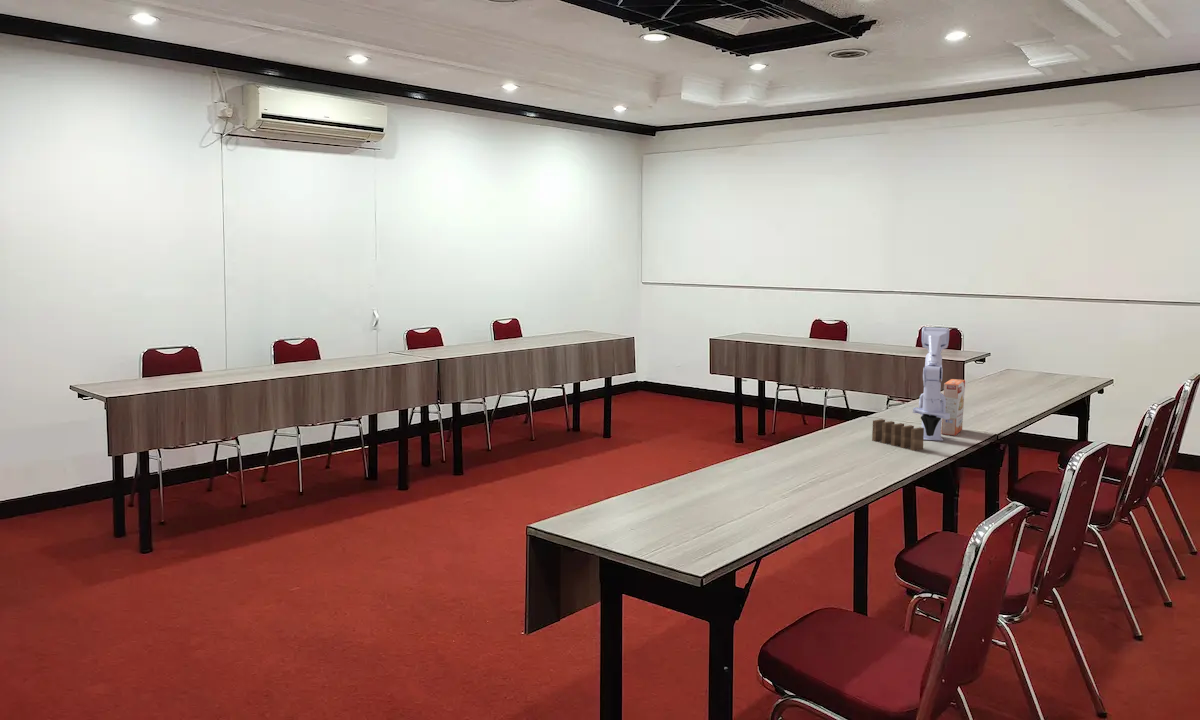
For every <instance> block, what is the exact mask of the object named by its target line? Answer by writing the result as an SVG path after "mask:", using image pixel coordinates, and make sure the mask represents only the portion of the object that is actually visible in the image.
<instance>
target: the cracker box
mask: <svg viewBox="0 0 1200 720" xmlns="http://www.w3.org/2000/svg"><path fill="white" fill-rule="evenodd" d="M965 392H966V380H965V379H956V378H950V379H949V380H948V381H946V382H944V383H943V395H944V396H945V397H946V411H945V413H949V414H950V419H943V418H942V422H941V435H944V436H945V435H946V436H947V435H948V436H957V435H958V434H959V433H961V431H962V430H963V421H964V408H965V407H964V405H965Z"/></svg>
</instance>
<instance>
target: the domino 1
mask: <svg viewBox="0 0 1200 720" xmlns="http://www.w3.org/2000/svg"><path fill="white" fill-rule="evenodd" d="M883 422H886V419H883V418H880V419H873V420H872V430H871V431H872V432H871V433H872V434H871V438H872V439H871V441H872V442H880V440H881V441H882V423H883Z"/></svg>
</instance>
